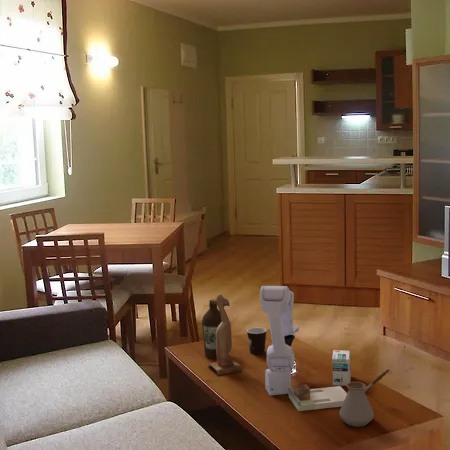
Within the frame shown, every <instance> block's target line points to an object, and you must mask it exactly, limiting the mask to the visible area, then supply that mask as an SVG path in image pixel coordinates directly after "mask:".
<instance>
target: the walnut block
mask: <svg viewBox="0 0 450 450" xmlns="http://www.w3.org/2000/svg"><path fill="white" fill-rule="evenodd" d="M293 391H294V393H295V395H296V396H297V398H298V399H299V400H300V401H302V400H310V387H309V386H308V384H306V383H305V384H304V383H303V384H297V385H293Z"/></svg>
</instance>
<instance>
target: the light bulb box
mask: <svg viewBox="0 0 450 450" xmlns="http://www.w3.org/2000/svg"><path fill="white" fill-rule="evenodd" d="M331 359H332V386H341V387H347V386H346V385H347V384H348V383H350V382H351V380H352V379H351V373H352V372H351V350H337V349H333V352H332V358H331Z"/></svg>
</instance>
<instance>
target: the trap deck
mask: <svg viewBox="0 0 450 450" xmlns="http://www.w3.org/2000/svg"><path fill="white" fill-rule="evenodd" d="M342 387H343V386H338V385H335V386H330V387H328V386H327V387H319V388H311V389H310V400H302V401H300V400H299V399H298V398H297V396H296V395H295V393H294V390H293V391H292V389H293V388H292V387H291V388H292V389H291V388H288V393H289V394H288V398H289V400H290V401H291V403H292V404H293V405H294V408H296V410H297V411H298V412H303V411H313V410H320V409H328V408H329V409H330V408H341V407H342V405H343V402H344V400H345V398H346V395H347V393H348V392H346V391H345V390H344V388H342Z"/></svg>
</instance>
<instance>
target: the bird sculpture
mask: <svg viewBox="0 0 450 450" xmlns="http://www.w3.org/2000/svg"><path fill="white" fill-rule="evenodd" d="M215 300H216V303H217V309H218V310H219V311H220V314H221V318H222V322H221V324H220V325H219V326H218V328H217V331H216V353H217V354H216V355H217V359H216V361H215V362H209V363H208V364H207V368H213V369H214V370H215V372H216V374H217V376H221V375H222V376H223V375H228V374H232V373H233V374H234V373H238V372H241V371H242V365H241V364H239V363H238V362H237V361H235V360H234V359H233V358H231V356H230V352H231V350H232V348H233V347H232V345H233V343H232V342H233V341H232V339H233V338H232V326H231V325H232V324H231V322H230V318H229V317H228V314H227V312H226V309H225V307H230V301H229V300H228V298H225V297H224V296H223V295H222V294H218V295H217V296H216V298H215Z"/></svg>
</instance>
